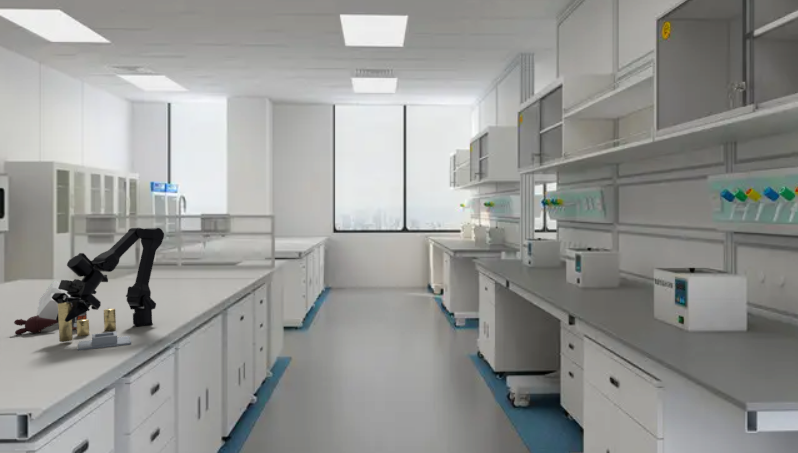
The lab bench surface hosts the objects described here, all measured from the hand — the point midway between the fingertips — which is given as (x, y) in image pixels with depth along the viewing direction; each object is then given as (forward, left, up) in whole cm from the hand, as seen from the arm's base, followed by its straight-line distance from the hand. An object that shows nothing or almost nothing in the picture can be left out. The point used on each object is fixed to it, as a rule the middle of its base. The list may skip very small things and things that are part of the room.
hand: (61, 320), depth 201 cm
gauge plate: (-13, +8, -8) cm, 17 cm away
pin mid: (-15, -17, -8) cm, 24 cm away
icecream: (+10, -28, -8) cm, 30 cm away
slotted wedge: (+4, -45, -8) cm, 46 cm away
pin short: (-6, -13, -8) cm, 16 cm away
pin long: (-1, -1, -7) cm, 7 cm away
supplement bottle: (-4, -28, -8) cm, 29 cm away
